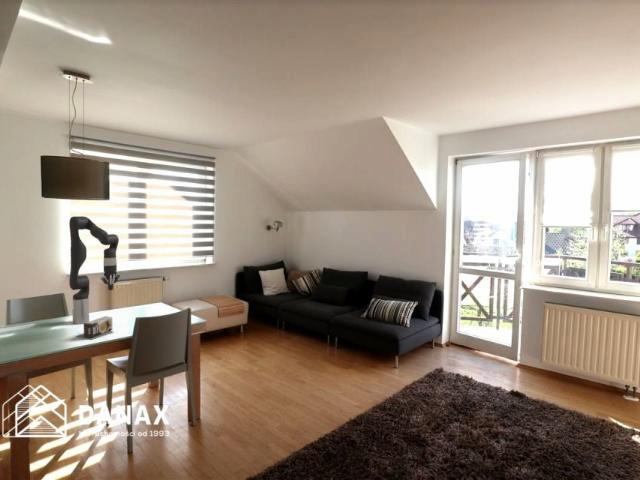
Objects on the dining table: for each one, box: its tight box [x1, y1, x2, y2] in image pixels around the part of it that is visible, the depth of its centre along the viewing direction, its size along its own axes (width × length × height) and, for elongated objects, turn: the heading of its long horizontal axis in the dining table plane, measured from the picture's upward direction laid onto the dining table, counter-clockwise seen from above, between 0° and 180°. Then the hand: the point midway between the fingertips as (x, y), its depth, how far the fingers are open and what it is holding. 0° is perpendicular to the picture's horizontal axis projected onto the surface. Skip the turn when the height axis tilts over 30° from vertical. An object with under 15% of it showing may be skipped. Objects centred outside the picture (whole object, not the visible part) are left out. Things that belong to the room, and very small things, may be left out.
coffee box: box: [83, 316, 113, 338], centre depth 227 cm, size 9×6×16 cm
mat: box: [76, 330, 115, 341], centre depth 227 cm, size 14×15×1 cm
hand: (110, 289), depth 236 cm, fingers closed
